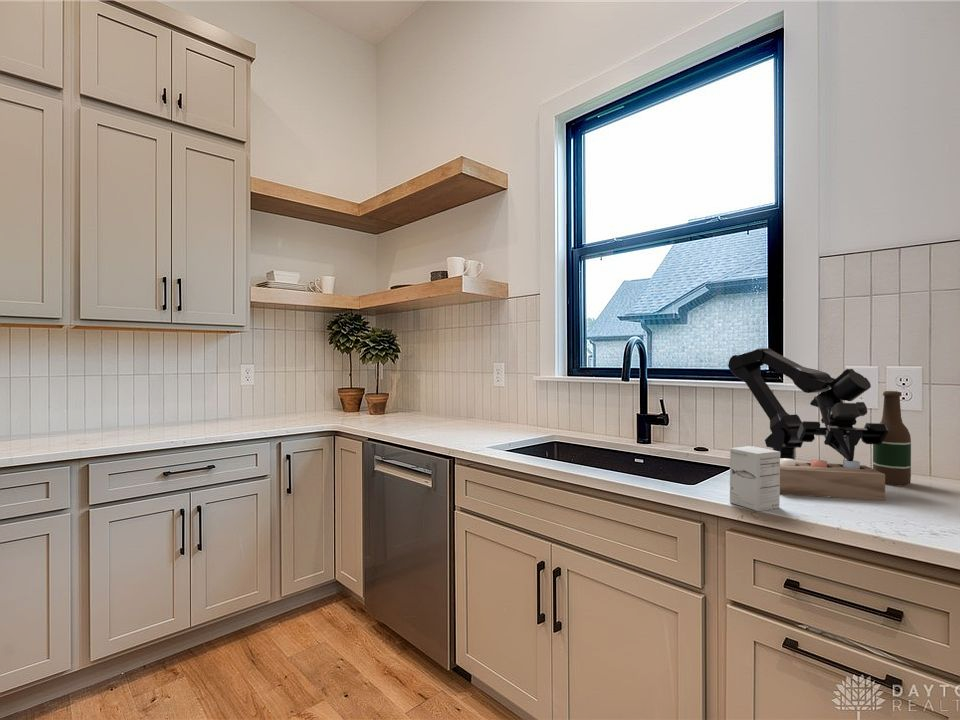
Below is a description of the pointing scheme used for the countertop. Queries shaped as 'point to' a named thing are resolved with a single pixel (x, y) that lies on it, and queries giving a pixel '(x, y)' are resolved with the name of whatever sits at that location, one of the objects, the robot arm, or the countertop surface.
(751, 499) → the supplement box
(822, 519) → the countertop surface
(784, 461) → the white key
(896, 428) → the beer bottle
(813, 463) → the brick key
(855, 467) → the grey rounded block
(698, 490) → the countertop surface
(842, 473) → the wooden socket block
